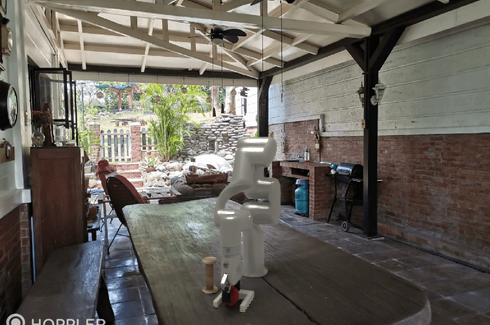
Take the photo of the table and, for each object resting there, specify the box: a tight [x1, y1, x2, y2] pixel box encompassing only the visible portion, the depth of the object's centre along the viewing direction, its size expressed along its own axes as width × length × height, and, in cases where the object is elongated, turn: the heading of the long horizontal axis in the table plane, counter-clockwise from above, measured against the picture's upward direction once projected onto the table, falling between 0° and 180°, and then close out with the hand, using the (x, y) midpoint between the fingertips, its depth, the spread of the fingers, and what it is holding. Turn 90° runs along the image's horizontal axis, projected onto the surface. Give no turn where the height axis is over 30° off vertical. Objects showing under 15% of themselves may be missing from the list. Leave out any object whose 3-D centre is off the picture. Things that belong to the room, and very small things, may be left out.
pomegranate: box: [225, 285, 240, 307], centre depth 124 cm, size 6×6×8 cm
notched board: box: [212, 288, 255, 313], centre depth 126 cm, size 12×12×2 cm
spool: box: [201, 256, 219, 293], centre depth 135 cm, size 6×6×13 cm
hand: (231, 296), depth 123 cm, fingers open, 9 cm apart
